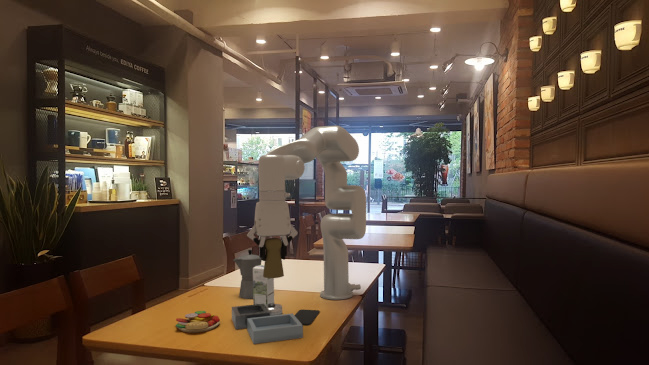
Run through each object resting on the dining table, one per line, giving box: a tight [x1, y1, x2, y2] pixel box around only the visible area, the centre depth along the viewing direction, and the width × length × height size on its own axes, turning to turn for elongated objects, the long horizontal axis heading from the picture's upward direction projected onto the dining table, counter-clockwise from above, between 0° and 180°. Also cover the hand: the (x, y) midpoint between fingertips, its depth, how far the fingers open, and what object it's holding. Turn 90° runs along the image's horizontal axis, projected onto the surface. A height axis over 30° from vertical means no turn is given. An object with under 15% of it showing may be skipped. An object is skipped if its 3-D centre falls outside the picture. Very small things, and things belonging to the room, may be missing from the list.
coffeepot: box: [233, 249, 263, 300], centre depth 171 cm, size 15×9×18 cm, turn 113°
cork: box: [263, 237, 285, 279], centre depth 128 cm, size 6×6×11 cm
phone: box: [294, 309, 321, 327], centre depth 143 cm, size 7×1×15 cm
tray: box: [246, 313, 304, 345], centre depth 128 cm, size 14×12×4 cm
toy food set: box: [175, 310, 221, 334], centre depth 136 cm, size 13×13×3 cm
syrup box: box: [252, 264, 275, 305], centre depth 155 cm, size 6×6×14 cm
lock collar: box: [231, 302, 283, 330], centre depth 142 cm, size 17×15×4 cm
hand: (273, 258), depth 128 cm, fingers closed on cork, 5 cm apart
